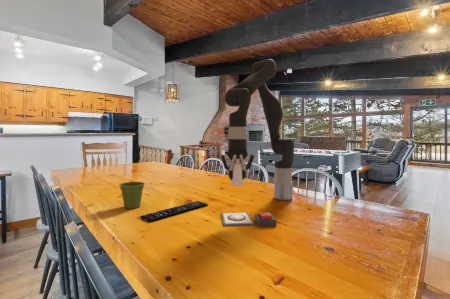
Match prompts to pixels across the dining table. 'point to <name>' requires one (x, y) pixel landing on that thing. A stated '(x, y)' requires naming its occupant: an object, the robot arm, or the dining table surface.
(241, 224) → the board
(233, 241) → the dining table surface
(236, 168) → the salt shaker
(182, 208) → the remote control
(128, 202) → the plant pot
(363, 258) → the dining table surface
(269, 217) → the button
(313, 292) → the dining table surface
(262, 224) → the button housing
